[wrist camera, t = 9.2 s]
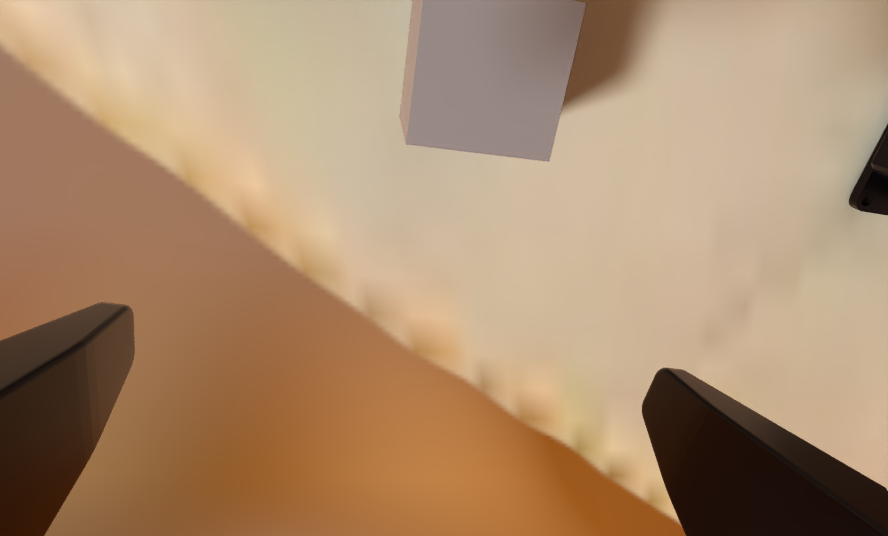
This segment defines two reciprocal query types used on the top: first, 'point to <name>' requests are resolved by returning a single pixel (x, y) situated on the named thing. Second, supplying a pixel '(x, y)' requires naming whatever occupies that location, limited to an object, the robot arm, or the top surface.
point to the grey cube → (488, 74)
